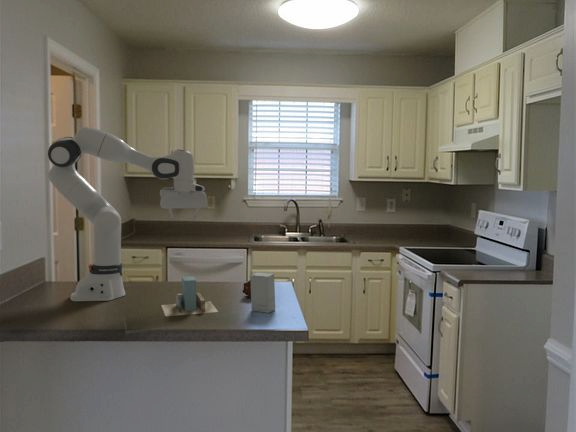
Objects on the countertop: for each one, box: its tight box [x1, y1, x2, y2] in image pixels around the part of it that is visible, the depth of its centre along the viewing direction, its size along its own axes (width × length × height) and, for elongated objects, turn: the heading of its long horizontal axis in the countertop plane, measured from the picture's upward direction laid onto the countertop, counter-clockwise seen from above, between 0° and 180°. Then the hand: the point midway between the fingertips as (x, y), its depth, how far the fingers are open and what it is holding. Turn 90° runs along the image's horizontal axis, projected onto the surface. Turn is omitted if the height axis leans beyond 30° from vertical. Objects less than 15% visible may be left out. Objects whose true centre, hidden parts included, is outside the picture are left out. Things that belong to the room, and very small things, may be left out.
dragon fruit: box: [242, 280, 251, 299], centre depth 220 cm, size 8×8×12 cm
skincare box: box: [249, 272, 276, 314], centre depth 198 cm, size 8×6×15 cm
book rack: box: [161, 292, 219, 317], centre depth 196 cm, size 20×16×6 cm
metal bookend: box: [175, 294, 181, 313], centre depth 195 cm, size 1×10×4 cm, turn 20°
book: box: [181, 276, 197, 311], centre depth 196 cm, size 4×7×12 cm, turn 20°
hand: (184, 218), depth 219 cm, fingers open, 8 cm apart
